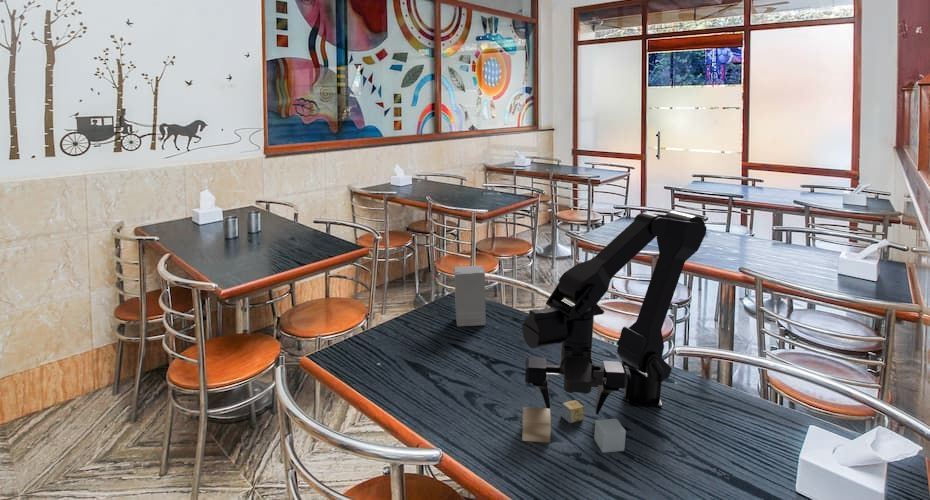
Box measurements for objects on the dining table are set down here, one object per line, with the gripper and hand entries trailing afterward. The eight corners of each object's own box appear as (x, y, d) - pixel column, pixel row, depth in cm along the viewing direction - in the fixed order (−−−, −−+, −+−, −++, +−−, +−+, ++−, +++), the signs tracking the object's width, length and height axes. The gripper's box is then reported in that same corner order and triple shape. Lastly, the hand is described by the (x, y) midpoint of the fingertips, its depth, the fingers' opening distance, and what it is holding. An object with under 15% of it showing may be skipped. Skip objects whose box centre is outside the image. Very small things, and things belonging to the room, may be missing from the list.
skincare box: (484, 317, 157) (484, 264, 152) (486, 327, 150) (486, 272, 146) (454, 317, 156) (454, 264, 152) (454, 327, 149) (454, 272, 145)
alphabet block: (560, 416, 108) (561, 402, 107) (574, 412, 109) (575, 398, 108) (569, 424, 105) (570, 410, 104) (583, 420, 106) (584, 406, 106)
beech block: (549, 427, 104) (549, 408, 103) (550, 443, 100) (550, 423, 98) (522, 425, 105) (523, 407, 104) (522, 441, 100) (522, 421, 99)
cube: (615, 437, 101) (616, 418, 100) (624, 451, 97) (625, 431, 96) (594, 439, 100) (595, 420, 99) (602, 453, 97) (604, 433, 96)
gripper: (525, 354, 96) (523, 432, 100) (635, 359, 94) (628, 439, 98) (526, 328, 107) (524, 400, 111) (625, 333, 105) (619, 406, 109)
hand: (572, 411), depth 107 cm, fingers open, 9 cm apart
